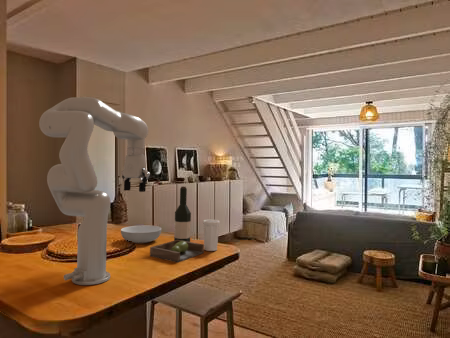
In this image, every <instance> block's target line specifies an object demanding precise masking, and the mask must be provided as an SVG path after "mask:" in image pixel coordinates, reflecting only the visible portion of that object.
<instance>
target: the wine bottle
mask: <svg viewBox="0 0 450 338" xmlns="http://www.w3.org/2000/svg"><path fill="white" fill-rule="evenodd" d="M187 189H188V188H187V186H181V187H180V189H179V205H178V206H177V208H176V209H175V211H174V229H173V234H174V238H173V241H175V240H182V241H187V242H191V225H192V224H191V222H192V221H191V220H192V219H191V217H192V216H191V215H192V212H191V211H190V209H189V207H188V205H187V195H188V194H187V193H188V190H187Z"/></svg>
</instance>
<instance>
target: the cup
mask: <svg viewBox="0 0 450 338" xmlns="http://www.w3.org/2000/svg"><path fill="white" fill-rule="evenodd" d="M202 223H203V244H204V251H208V252H213V251H214V252H215V251H218V242H219V241H218V240H219V230H220V229H219V228H220V224H221V222H220V220H219V219H204V220H203V221H202Z"/></svg>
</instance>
